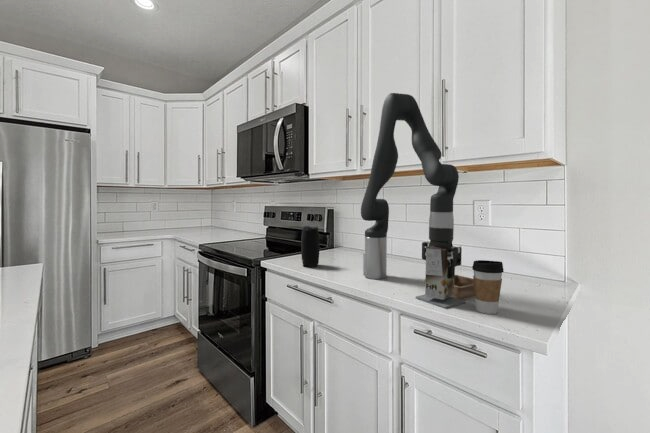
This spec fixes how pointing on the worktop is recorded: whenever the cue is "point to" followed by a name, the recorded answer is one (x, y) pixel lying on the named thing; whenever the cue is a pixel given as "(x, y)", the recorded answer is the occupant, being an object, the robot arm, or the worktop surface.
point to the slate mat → (441, 301)
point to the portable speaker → (310, 246)
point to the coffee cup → (487, 285)
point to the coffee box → (438, 273)
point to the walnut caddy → (463, 287)
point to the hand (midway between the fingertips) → (440, 275)
